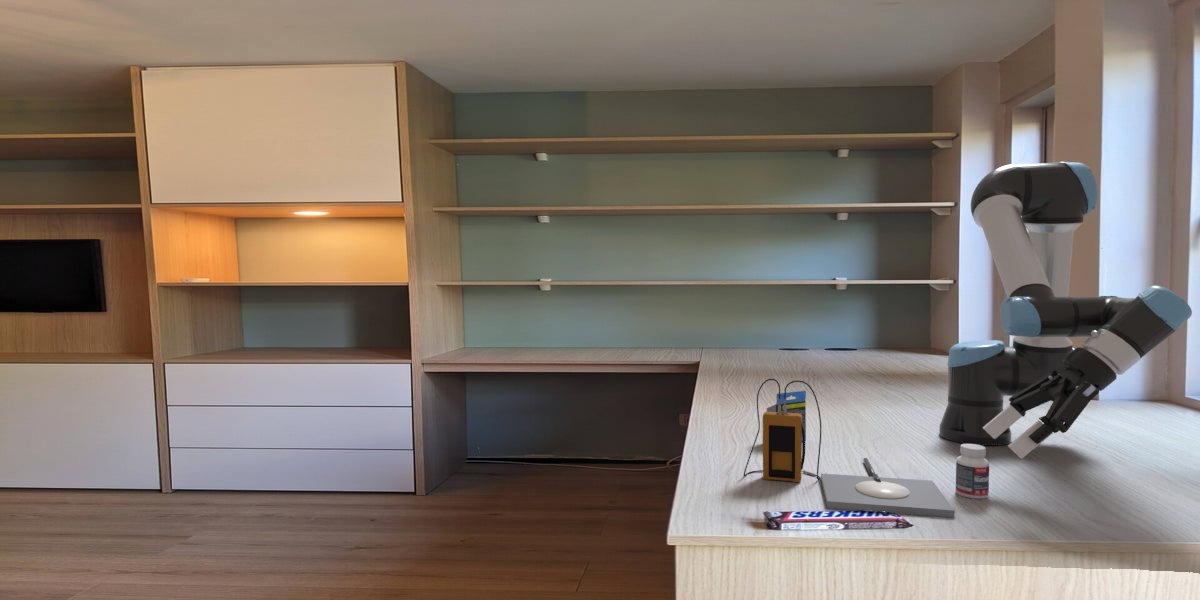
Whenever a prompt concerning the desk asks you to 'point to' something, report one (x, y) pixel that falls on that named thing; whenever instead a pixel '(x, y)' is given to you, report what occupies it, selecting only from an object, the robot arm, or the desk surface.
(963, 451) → the pill bottle
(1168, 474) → the desk surface
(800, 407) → the label tape cartridge
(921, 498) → the board
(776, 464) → the multimeter
